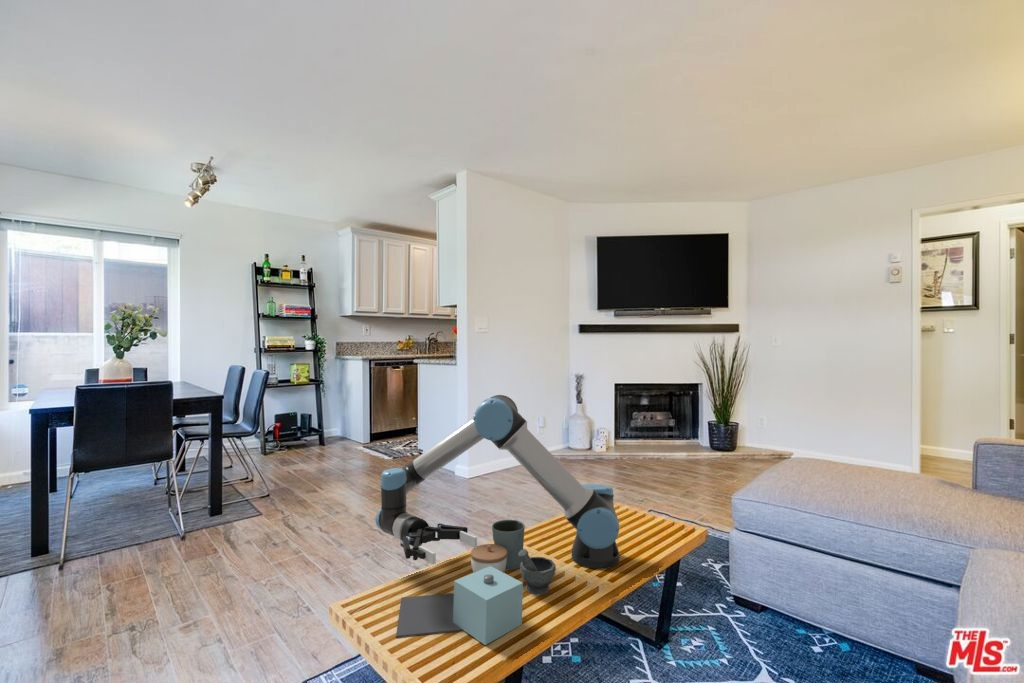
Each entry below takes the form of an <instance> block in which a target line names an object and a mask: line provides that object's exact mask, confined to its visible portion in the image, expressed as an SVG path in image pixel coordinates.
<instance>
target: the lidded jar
mask: <svg viewBox="0 0 1024 683" xmlns="http://www.w3.org/2000/svg"><path fill="white" fill-rule="evenodd" d="M470 564H471V568H472V573H474V572H477V571H479V570H482V569H484V568H487V567H489V566H491V567H493V568H495V569H497V570H499V571H501V572H503V573H505V571H506V570H505V569H506V564H507V550H506V548H504V547H503V546H500V545H496V544H494V543H493V544H492V543H488V544H487V543H486V544H485V543H484V544H480V545H477V547H476V548H474V547H472V549H471V551H470Z"/></svg>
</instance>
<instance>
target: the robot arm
mask: <svg viewBox="0 0 1024 683" xmlns="http://www.w3.org/2000/svg"><path fill="white" fill-rule="evenodd" d="M518 410H519V409H518V407H517V404H516V402H515V401H514V400H513V399H512V398H510V397H509V396H507V395H504V394H503V395H502V394H496V395H493V396H490V397H489V398H486V399H484V400H483V401H482V402H481V403H480V404H479V405H478V406H477V408H476V410H475V412H474V413H473V416H472V418H471V419H469V420H468V421H466V422H465V423H464V424H463V425H461V426H460V427H458V428H456V429H455V430H454V431H453V432H451V433H450V434H448V435H446V436H445V437H444V438H443V439H441V440H440V441H439V442H437V443H435V444H434V445H433V446H431V447H430V448H429V449H427V450H426V451H424V452H423V453H422V454H420V455H419V456H417V457H416V458H414V459H413V460H412V461H411V462H409V463H408V464H406V465H404V466H403V467H402V468H400V467H396V468H394V467H393V468H389V469H384V470H383V471H382V472H381V475H380V493H381V497H380V498H381V499H380V501H381V505H380V506H381V507H380V509H378V511H377V513H376V516H375V524H376V526H377V528H378V529H380V530H381V531H382V532H383V533H385V534H389V535H391V536H393V537H394V538H396V539H399V540H400V547H401V548H403V552H404V557H405V559H406V560H408V559H410V558H411V557H412V560H413V561H417V560H418V559H420V560H424V561H425V562H427V563H430V564H431V565H436V561H437V560H436V557H437V556H436V555H437V554H436V552H435V551H432V550H431V549H428V548H427V547H425V546H423V544H427V543H429V542H439V541H441V540H454V541H455V540H459V542H461V543H464V544H465V545H468V546H470V547H472V548H476V547H477V546H478V537H477V536H476V535H473V534H472V533H468V530H469V529H468V527H467V526H459V525H452V524H450V525H449V524H444V523H437V525H436V526H430V525H429V523H428V522H427V521H426V520H425V519H423V518H421V517H418V516H416V515H414V514H411V513H408V512H407V494H408V493H409V492H410V491H412V490H413V489H414V488H415V487H416V486H418V485H420V484H421V483H422V482H424V481H425V480H426V479H428V478H429V477H431V476H432V475H434V474H435V473H436V472H438V471H439V470H441V469H442V468H444V467H445V466H447V465H448V464H449V463H451V462H453V461H454V460H455V459H456V458H458V457H460V456H461V455H462V454H464V453H465V452H466V451H468V450H469V449H470V448H472V447H474V446H475V445H476V444H478V443H479V442H481V441H482V440H484V439H485V440H487V441H490V442H492V443H493V444H494V445H495V446H496V447H497V449H498V450H505V451H508V453H509V454H510V455H511V456H512V457H513V458H514V459H515V460H516V461H517V462H518V463H519V464H520V465H521V466H522V467H523V468H524V469H525V471H527V473H529V474H530V475H531V476H532V478H534V480H536V482H537V483H538V484H540V486H541V487H542V488H543V489H544V490H545V491H546V492H547V493H548V494H549V495H550V496H551V497H552V498H553V499H554V501H555V502H556V503H558V504H559V505H560V506H561V508H563V510H564V518H565V519H566V520H567V522H569V523H570V525H571V526H573V528H574V529H575V530H576V534H575V538H574V541H573V544H572V546H571V560H572V561H573V562H574V563H576V564H577V565H579V566H581V567H583V568H584V567H585V568H589V569H596V570H603V569H604V570H605V569H610V568H613V567H616V566H617V565H618V564H620V561H621V559H620V551H619V547H618V545H617V542H616V541H617V539H618V536H619V533H620V520H619V517H618V515H617V512H616V509H615V507H614V505H615V504H614V497H615V493H614V490H613V487H611V486H608V485H607V484H606V485H604V484H594V483H593V484H589V483H588V484H582V483H580V481H578V480H577V479H576V477H575V476H574V475H573V474H571V472H570V471H569V470H568V469H567V468H566V467H565V466H564V465H563V464H562V463H561V462H560V461H559V460H558V458H556V457H555V456H554V455H553V453H552V452H550V451H549V450H548V449H547V448H546V447H545V445H543V444H542V443H541V441H539V439H537V437H536V436H535V435H533V433H532V432H531V431H530V430H528V421H527V420H526V419H525V418H524V417H523V416H522V414H520V413H519V411H518ZM436 533H437V534H436ZM411 547H412V548H411Z"/></svg>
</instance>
